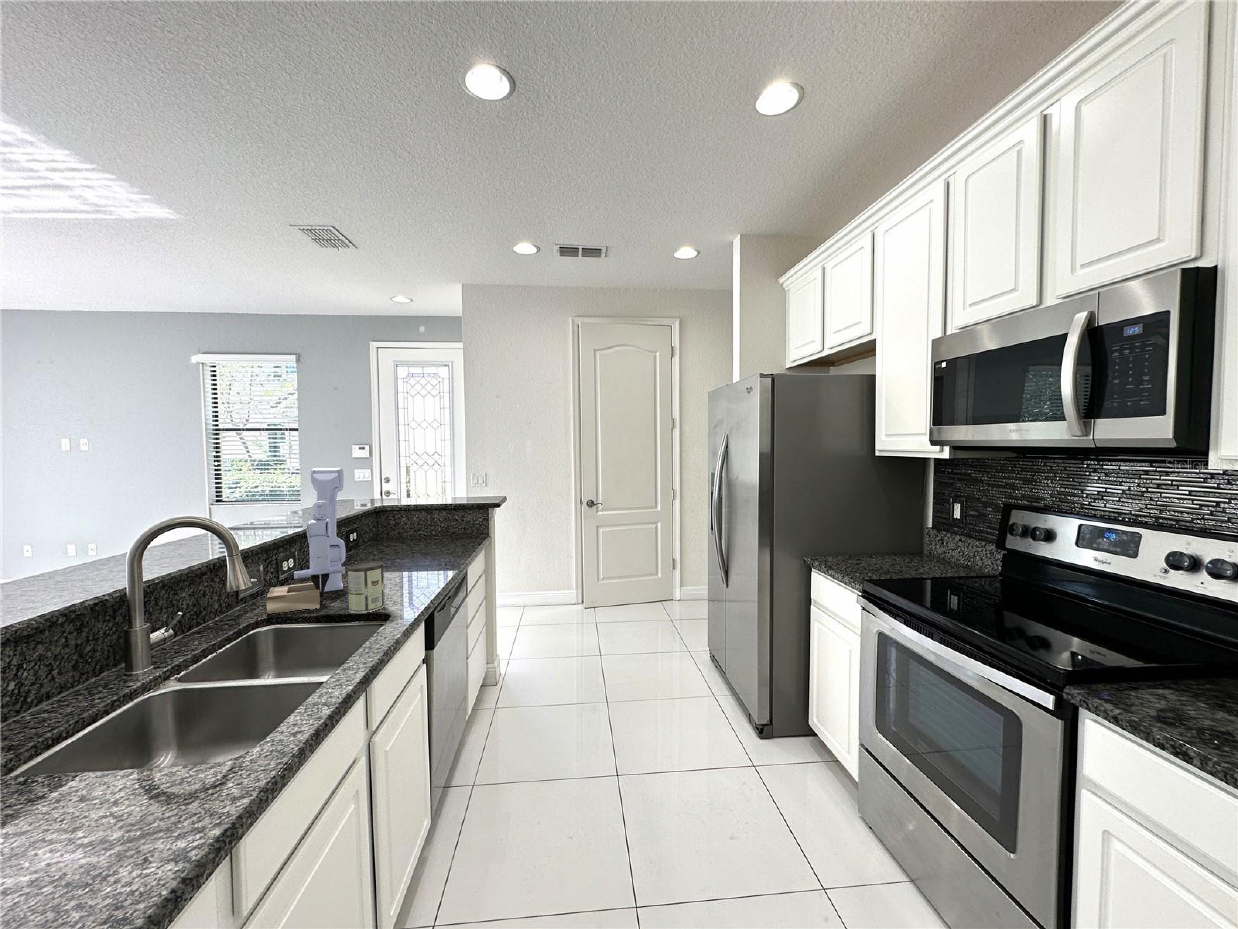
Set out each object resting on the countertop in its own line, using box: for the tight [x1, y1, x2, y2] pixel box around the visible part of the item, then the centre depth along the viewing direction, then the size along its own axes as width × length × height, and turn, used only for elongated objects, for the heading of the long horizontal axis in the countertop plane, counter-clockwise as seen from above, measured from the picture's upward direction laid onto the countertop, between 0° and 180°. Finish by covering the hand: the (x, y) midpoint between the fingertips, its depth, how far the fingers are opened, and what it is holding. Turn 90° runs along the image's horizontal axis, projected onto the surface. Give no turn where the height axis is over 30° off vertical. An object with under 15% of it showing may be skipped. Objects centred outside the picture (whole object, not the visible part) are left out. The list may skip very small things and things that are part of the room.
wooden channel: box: [266, 582, 321, 614], centre depth 168 cm, size 13×14×6 cm
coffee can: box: [346, 560, 385, 614], centre depth 165 cm, size 10×10×14 cm
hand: (320, 597), depth 172 cm, fingers closed
